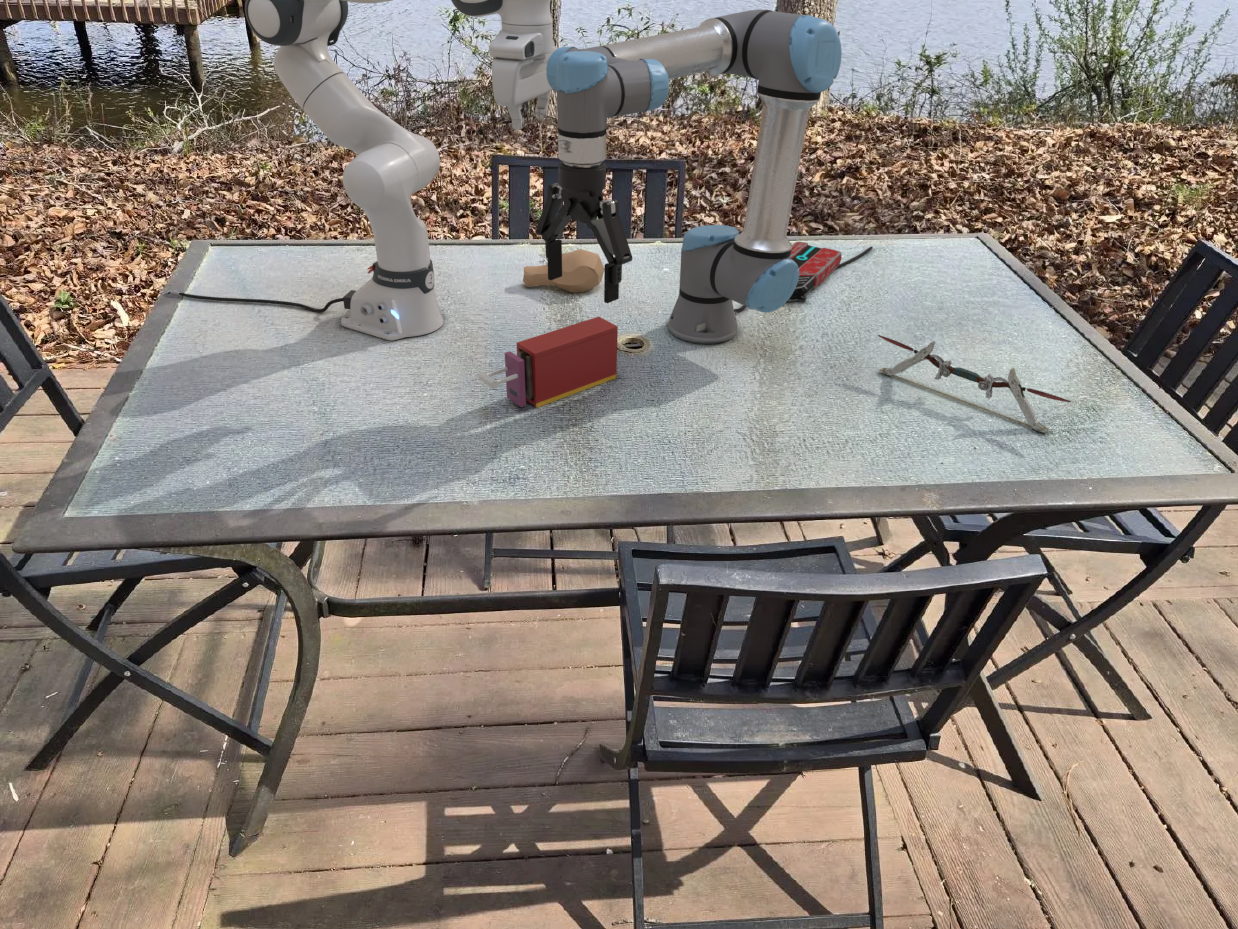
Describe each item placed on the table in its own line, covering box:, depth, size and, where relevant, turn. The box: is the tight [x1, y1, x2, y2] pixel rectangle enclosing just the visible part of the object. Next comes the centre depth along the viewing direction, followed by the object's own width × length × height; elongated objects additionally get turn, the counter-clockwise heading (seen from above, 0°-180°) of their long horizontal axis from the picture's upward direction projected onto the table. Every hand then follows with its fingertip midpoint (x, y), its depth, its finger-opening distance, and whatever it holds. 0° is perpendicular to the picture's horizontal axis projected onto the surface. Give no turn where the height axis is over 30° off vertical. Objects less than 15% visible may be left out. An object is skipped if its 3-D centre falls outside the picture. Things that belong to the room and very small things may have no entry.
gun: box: [786, 241, 843, 303], centre depth 223 cm, size 4×31×19 cm
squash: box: [522, 248, 605, 293], centre depth 213 cm, size 11×20×9 cm, turn 90°
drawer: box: [477, 350, 534, 408], centre depth 166 cm, size 25×5×10 cm, turn 130°
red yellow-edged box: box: [516, 316, 619, 409], centre depth 170 cm, size 20×6×11 cm, turn 130°
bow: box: [877, 334, 1072, 434], centre depth 169 cm, size 39×2×10 cm, turn 47°
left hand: (530, 123), depth 161 cm, fingers open, 8 cm apart
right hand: (582, 289), depth 149 cm, fingers open, 13 cm apart
